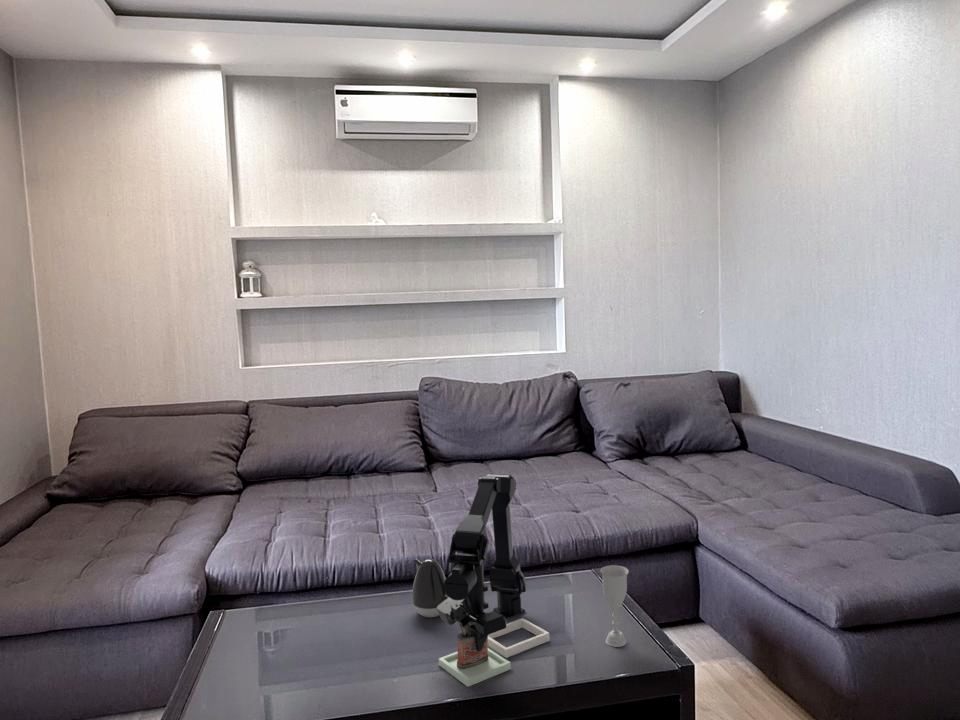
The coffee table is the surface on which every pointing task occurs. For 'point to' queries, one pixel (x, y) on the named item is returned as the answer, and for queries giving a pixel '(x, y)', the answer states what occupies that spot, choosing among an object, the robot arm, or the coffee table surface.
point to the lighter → (470, 649)
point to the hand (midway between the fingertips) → (473, 647)
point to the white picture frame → (540, 638)
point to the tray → (475, 668)
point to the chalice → (615, 598)
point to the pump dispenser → (428, 587)
